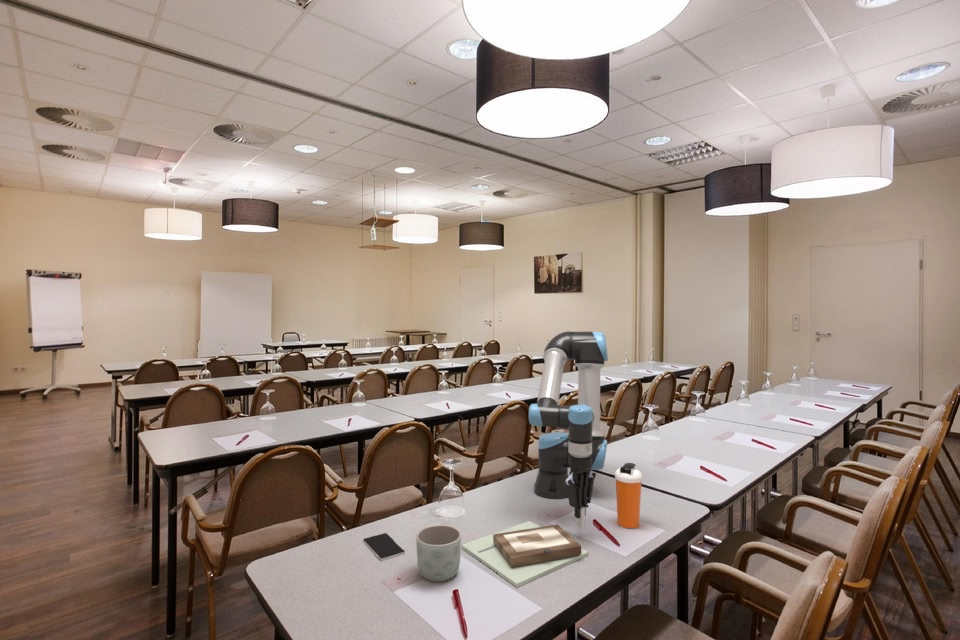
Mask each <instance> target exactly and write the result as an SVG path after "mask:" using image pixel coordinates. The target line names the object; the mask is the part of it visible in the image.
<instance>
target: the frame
mask: <svg viewBox="0 0 960 640" xmlns="http://www.w3.org/2000/svg"><path fill="white" fill-rule="evenodd" d="M492 534H493V543H494V544H495V545H496V547H497V548H498V549H499V551H500V552H501V554H502V555H503V556H504V558H505V559H506V560H507V562H508V563H509V564H510V566H511V567H515V566H521V565H526V564H532V563H537V562H543V561H548V560H554V559H559V558H565V557H570V556H576V555H581V548H582V545H581V544H580V543H579V542H578V541H577V540H576V539H575V538H573V536H571V535H570V533H568V532H567V531H566V530H565V529H563V528H562V527H561V526H560V525H559V524H557V523H556V524H552V525H551V524H549V525H545V526H540V527H537V528H531V529H524V530H518V531H512V532H505V533H499V534H494V533H492Z"/></svg>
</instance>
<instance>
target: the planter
mask: <svg viewBox="0 0 960 640" xmlns="http://www.w3.org/2000/svg"><path fill="white" fill-rule="evenodd" d="M415 539H416V540H415V542H416V557H417V562H416V563H417V569H418V572H419V573H420V576H422V577H423V578H424V579H426V580H427V581H431V582H434V583H435V582H436V583H437V582H438V583H440V582H444V581H445V582H446V581H447V580H450V579H452V578H454V577H455V576H456V575H457V573H458V572H459V569H460V564H461V551H462V532H461V531H460V530H459V528H456V527H454V526H452V525H445V524H444V525H443V524H434V525H430V526H427V527H424V528H422V529H420V530H419V531H418V532H417V534H416V537H415Z"/></svg>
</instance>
